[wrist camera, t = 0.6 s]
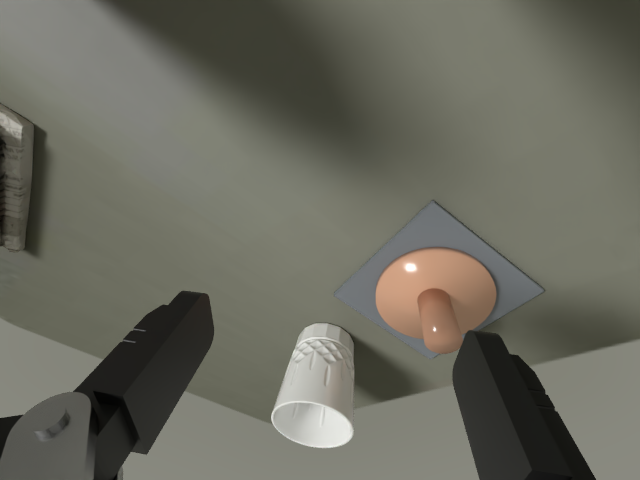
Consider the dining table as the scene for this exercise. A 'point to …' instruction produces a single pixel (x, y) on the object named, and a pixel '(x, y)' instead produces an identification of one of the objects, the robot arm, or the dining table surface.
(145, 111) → the dining table surface
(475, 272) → the lid
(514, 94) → the dining table surface
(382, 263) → the mat
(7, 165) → the grout float
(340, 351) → the white cup
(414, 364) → the dining table surface
